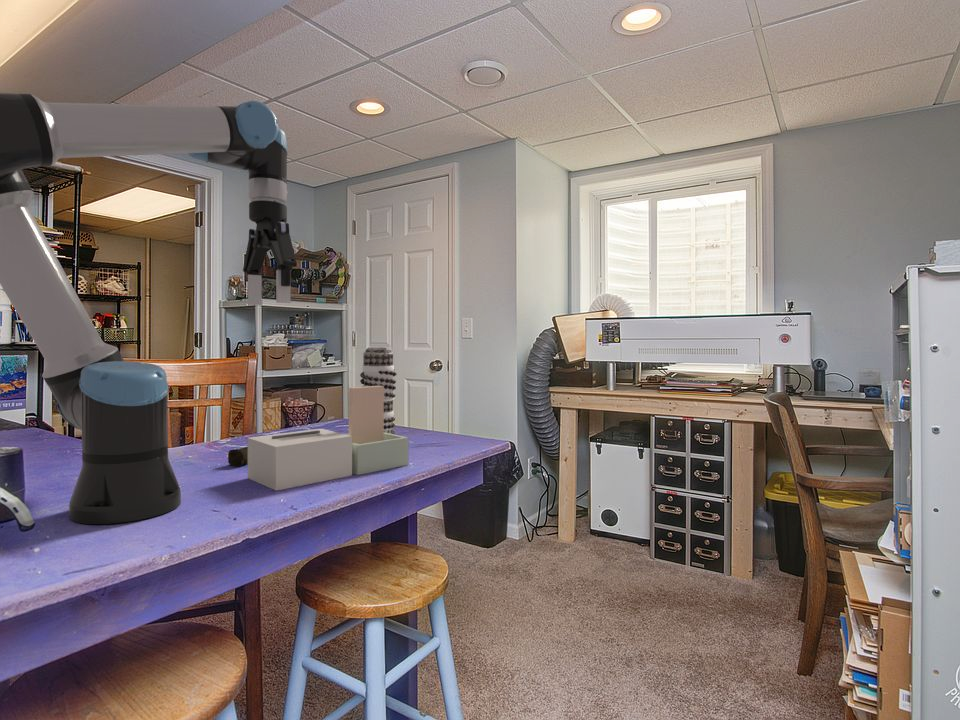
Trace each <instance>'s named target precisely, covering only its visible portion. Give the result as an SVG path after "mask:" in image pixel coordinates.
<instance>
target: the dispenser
mask: <svg viewBox="0 0 960 720" xmlns="http://www.w3.org/2000/svg"><path fill="white" fill-rule="evenodd" d="M346 434H347V433H341V432H337V431H332V430H330V429H325V428H316V429H307V430H305V429H304V430H298V431H289V432H284V433H273V434H268V435H260V436H252V437H247V446H248V462H247V479H249V480H251V481H253V482H256V483H258V484H260V485H263V486H264V487H266V488H269V489H271V490H274V491H280V490H286V489H290V488H297V487H301V486H306V485H310V484H312V485H313V484H316V483H321V482H326V481H331V480H336V479H341V478H346V477H350V476H351V477H352V476H353V473H352V436H350V435H346Z"/></svg>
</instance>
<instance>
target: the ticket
mask: <svg viewBox="0 0 960 720" xmlns="http://www.w3.org/2000/svg"><path fill="white" fill-rule="evenodd" d="M348 433H349V435H350V436H352V443H356V444H364V443H371V442H377V441H383V440H384V386H368V387H363V386H357V387H348Z"/></svg>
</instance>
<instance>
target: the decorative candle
mask: <svg viewBox="0 0 960 720" xmlns="http://www.w3.org/2000/svg"><path fill="white" fill-rule="evenodd" d="M362 355H363V357H362V358H363V364H362V372H361V373H360V374H359V376H360V377H361V379H360V381H359V382H360V384H361V385H362V387H368V386H384V432H385V433H390V434H394V435H396V430H395V429H394V427H396V424H395V423H394V421H396V418H395V417H394V416H395V415H394V413H395V411H394V400H396V394H394V393H393V392H394V391H395V390H396V388H397V387H396V386H395V384H396V383H397V380H395V379H394V378H393V377H396V376H397V374H398V373H397V372H395V365H394V353H393V352H392V350H391V349H390V348H389V347H367V348H366V349H365V351H364V352H363V353H362Z"/></svg>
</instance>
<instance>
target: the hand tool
mask: <svg viewBox="0 0 960 720" xmlns="http://www.w3.org/2000/svg"><path fill="white" fill-rule="evenodd" d="M227 463H228V464H229V466H230V467H236V468H237V467H238V468H239V467H242V466H243V465H248V445H247V446H245V447H241V448H235V449H230V450H229V451H228V453H227Z"/></svg>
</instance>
